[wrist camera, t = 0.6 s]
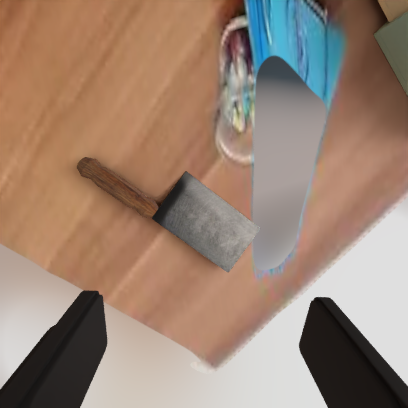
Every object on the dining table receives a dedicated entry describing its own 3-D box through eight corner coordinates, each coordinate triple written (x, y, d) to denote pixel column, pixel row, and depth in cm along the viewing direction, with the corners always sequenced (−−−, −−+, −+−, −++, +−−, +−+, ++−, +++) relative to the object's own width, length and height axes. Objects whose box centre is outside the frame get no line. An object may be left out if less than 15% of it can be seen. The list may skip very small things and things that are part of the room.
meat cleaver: (261, 227, 40) (267, 236, 36) (225, 266, 42) (228, 278, 38) (115, 117, 33) (105, 113, 29) (83, 170, 35) (69, 173, 32)
